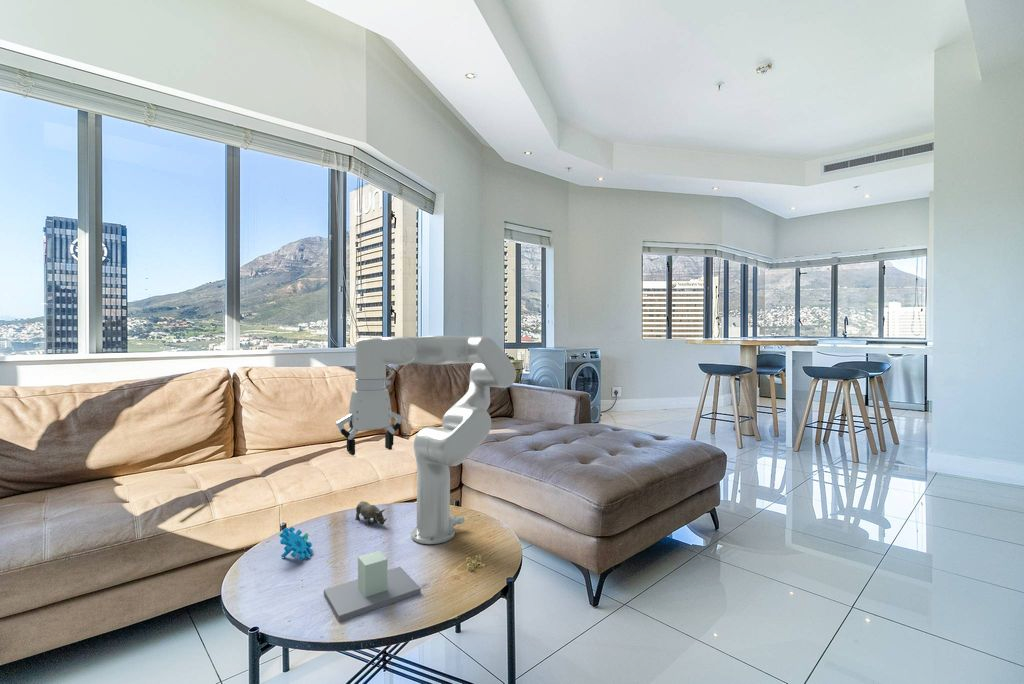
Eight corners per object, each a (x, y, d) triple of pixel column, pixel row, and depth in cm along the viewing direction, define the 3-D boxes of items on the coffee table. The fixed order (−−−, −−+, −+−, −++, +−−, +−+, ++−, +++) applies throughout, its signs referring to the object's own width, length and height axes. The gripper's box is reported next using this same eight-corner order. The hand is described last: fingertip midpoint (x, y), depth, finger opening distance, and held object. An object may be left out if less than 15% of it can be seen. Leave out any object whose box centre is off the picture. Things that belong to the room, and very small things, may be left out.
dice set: (468, 574, 115) (468, 566, 115) (462, 564, 119) (462, 557, 119) (487, 570, 116) (487, 563, 116) (480, 561, 121) (481, 554, 121)
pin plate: (399, 571, 114) (400, 554, 114) (420, 593, 105) (420, 574, 105) (323, 594, 104) (323, 576, 104) (338, 621, 94) (338, 601, 94)
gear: (301, 561, 116) (276, 531, 117) (284, 578, 116) (259, 547, 117) (322, 547, 127) (299, 520, 128) (306, 563, 126) (283, 535, 128)
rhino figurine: (380, 531, 138) (380, 511, 138) (352, 520, 146) (352, 501, 146) (391, 526, 141) (391, 507, 141) (363, 516, 150) (363, 497, 149)
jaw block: (379, 580, 108) (379, 550, 108) (387, 590, 104) (387, 559, 104) (357, 587, 105) (358, 556, 105) (365, 597, 101) (365, 565, 101)
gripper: (397, 382, 128) (396, 444, 128) (332, 386, 118) (332, 453, 118) (408, 384, 122) (407, 449, 122) (340, 389, 112) (340, 459, 112)
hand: (370, 451), depth 120 cm, fingers open, 9 cm apart
